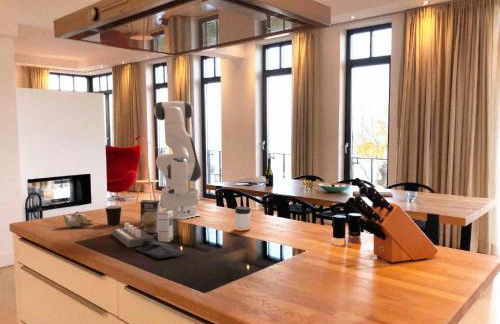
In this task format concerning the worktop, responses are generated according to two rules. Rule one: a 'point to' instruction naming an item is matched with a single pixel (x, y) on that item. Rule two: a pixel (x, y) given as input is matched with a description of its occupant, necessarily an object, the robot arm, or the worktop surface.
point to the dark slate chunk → (158, 249)
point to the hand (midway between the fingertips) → (179, 215)
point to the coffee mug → (113, 215)
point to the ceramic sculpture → (77, 220)
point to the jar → (242, 217)
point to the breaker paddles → (132, 230)
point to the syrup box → (165, 225)
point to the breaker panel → (130, 237)
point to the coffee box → (149, 216)
